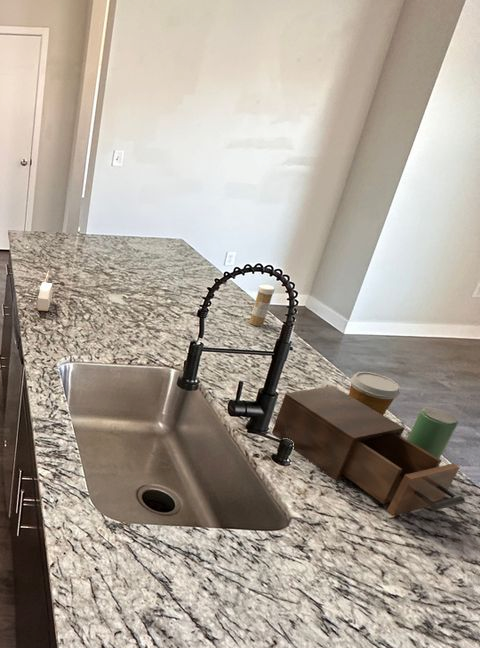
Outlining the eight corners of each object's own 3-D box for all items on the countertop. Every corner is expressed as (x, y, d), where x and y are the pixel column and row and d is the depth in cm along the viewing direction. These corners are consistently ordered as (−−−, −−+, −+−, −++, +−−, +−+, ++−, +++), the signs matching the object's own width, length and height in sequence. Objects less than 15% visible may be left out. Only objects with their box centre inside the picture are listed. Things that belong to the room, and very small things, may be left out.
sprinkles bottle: (248, 320, 183) (259, 283, 178) (263, 323, 182) (274, 285, 176) (248, 324, 180) (259, 287, 174) (263, 328, 178) (275, 290, 172)
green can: (437, 476, 113) (466, 421, 107) (416, 481, 111) (445, 425, 105) (408, 458, 118) (435, 404, 112) (388, 462, 116) (414, 408, 110)
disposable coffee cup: (389, 427, 128) (408, 384, 123) (371, 440, 123) (391, 396, 118) (346, 408, 135) (363, 367, 130) (328, 419, 130) (344, 377, 125)
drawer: (463, 519, 100) (485, 482, 96) (415, 532, 97) (435, 495, 93) (365, 453, 117) (380, 419, 113) (320, 463, 114) (334, 428, 110)
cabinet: (384, 469, 114) (404, 427, 109) (335, 480, 110) (354, 438, 105) (317, 424, 128) (332, 385, 124) (271, 432, 124) (285, 393, 120)
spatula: (57, 285, 213) (47, 284, 214) (59, 265, 210) (49, 264, 211) (48, 314, 178) (36, 313, 179) (51, 291, 175) (38, 290, 176)
